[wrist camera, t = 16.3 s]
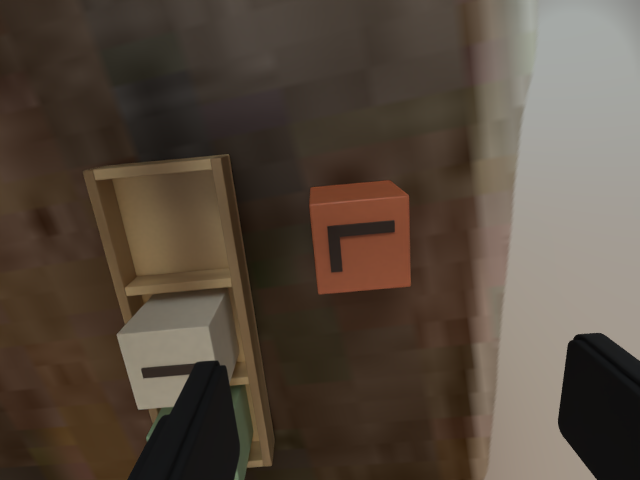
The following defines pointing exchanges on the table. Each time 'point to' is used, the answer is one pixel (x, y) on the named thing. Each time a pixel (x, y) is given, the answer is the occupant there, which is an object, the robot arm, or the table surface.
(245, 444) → the sage block
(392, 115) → the table surface
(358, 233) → the terracotta block
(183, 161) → the wooden tray
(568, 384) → the robot arm
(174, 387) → the ivory block
